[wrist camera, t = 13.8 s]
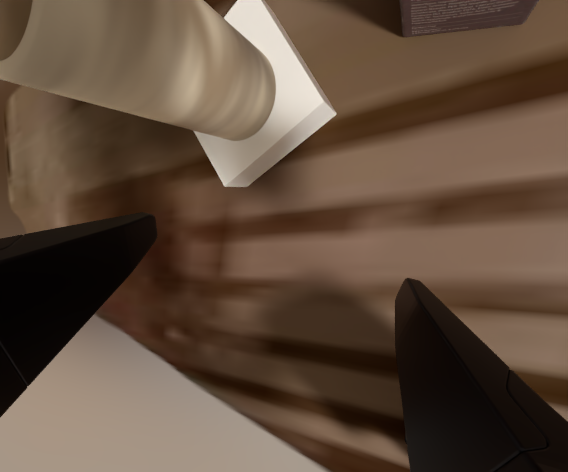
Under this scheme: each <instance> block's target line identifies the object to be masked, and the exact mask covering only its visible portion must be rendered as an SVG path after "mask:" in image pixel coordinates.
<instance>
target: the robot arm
mask: <svg viewBox="0 0 568 472" xmlns="http://www.w3.org/2000/svg"><path fill="white" fill-rule="evenodd" d="M156 238H157V228H156V220H155V217H154V216H153V215H152V214H148V213H144V212H141V213H136V214H130V215H125V216H120V217H114V218H109V219H103V220H98V221H93V222H87V223H82V224H77V225H71V226H66V227H61V228H55V229H50V230H44V231H39V232H34V233H28V234H25V235H17V236H12V237H7V238H1V239H0V417H1V416H2V415H3V414H4V413H5V412H6V411H7V409H8V408H9V407H10V406H11V405H12V404H13V403H14V402H15V401H16V399H17V398H18V397H19V396H20V395H21V394H22V393H23V392H24V391H25V390H26V388H27V386H29V385H30V384H31V383H32V382H33V381H34V380H35V378H36V377H37V376H38V375H39V374H40V373H41V372H42V371H43V370H44V368H45V367H46V366H47V365H48V364H49V363H50V362H51V361H52V360H53V359H54V357H55V356H56V355H57V354H58V353H59V352H60V351H61V350H62V349H63V347H65V345H66V344H67V343H68V342H69V341H70V340H71V339H72V338H73V337H74V336H75V334H76V333H77V332H78V331H79V330H80V329H81V328H82V327H83V326H84V324H85V323H86V322H87V321H88V320H89V319H90V318H91V317H92V316H93V315H94V314H95V312H96V311H97V310H98V309H99V308H100V307H101V306H102V305H103V304H104V303H105V301H106V300H107V299H108V298H109V297H110V296H111V295H112V294H113V293H114V292H115V291H116V289H117V288H118V287H119V286H120V285H121V284H122V283H123V282H124V281H125V280H126V278H127V277H128V276H129V275H130V274H131V273H132V272H133V270H134V269H135V268H136V266H137V265H138V264H139V262H140V261H141V260H142V258H143V257H144V256H145V254H146V253H147V252H148V250H149V249H150V247H151V246H152V245H153V243H154V242H155V241H156ZM395 349H396V358H397V366H398V374H399V382H400V390H401V399H402V407H403V415H404V423H405V431H406V434H405V442H406V444H407V448H408V456H409V464H410V472H568V422H567V421H566V420H565V419H564V418H563V417H562V416H561V415H560V414H558V413H557V412H556V411H555V410H554V409H553V408H552V407H551V406H549V405H548V404H547V403H546V402H545V401H544V400H543V399H542V398H541V397H540V396H539V395H538V394H537V393H535V392H534V391H533V390H532V389H531V388H530V387H529V386H528V385H527V384H526V383H525V382H524V381H523V380H522V379H521V378H520V377H519V376H518V375H517V374H516V373H515V372H514V371H512V370H509V367H508V366H507V365H506V364H505V363H504V362H503V361H502V360H501V359H500V358H499V357H498V356H497V355H496V354H495V353H494V352H493V351H492V350H491V349H490V348H489V347H488V346H487V345H486V344H485V343H483V342H482V341H481V340H480V339H479V338H478V337H477V336H476V335H475V334H474V333H473V332H472V331H471V330H470V329H469V328H468V327H467V326H466V325H465V324H464V323H463V322H462V321H461V320H460V319H459V318H458V317H457V316H456V315H455V314H454V313H452V312H451V311H450V310H449V309H448V308H447V307H446V306H445V305H444V304H443V303H442V302H441V301H440V300H439V299H438V298H437V297H436V296H435V295H434V294H433V293H432V292H431V291H430V290H429V289H428V288H427V287H426V286H425V285H424V284H423V283H421V282H420V281H418V280H415V279H410V278H406V279H405V280H404V282H403V284H402V286H401V288H400V290H399V292H398V294H397V296H396V300H395Z"/></svg>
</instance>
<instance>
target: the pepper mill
mask: <svg viewBox="0 0 568 472" xmlns="http://www.w3.org/2000/svg"><path fill="white" fill-rule="evenodd" d="M0 79H1V80H5V81H9V82H12V83H16V84H20V85H24V86H27V87H31V88H35V89H39V90H42V91H46V92H50V93H54V94H58V95H61V96H65V97H69V98H73V99H76V100H80V101H84V102H88V103H91V104H95V105H99V106H103V107H107V108H110V109H114V110H118V111H122V112H125V113H129V114H133V115H137V116H140V117H144V118H148V119H152V120H156V121H159V122H163V123H167V124H171V125H174V126H178V127H182V128H186V129H189V130H193V131H197V132H201V133H205V134H208V135H212V136H216V137H220V138H223V139H227V140H231V141H240V140H244V139H247V138H249V137H251V136H253V135H254V134H255V133H257V132H258V131H259V130H260V129H261V128H262V127H263V125H264V124H265V123H266V121H267V119H268V118H269V116H270V114H271V111H272V108H273V105H274V101H275V95H276V81H275V75H274V71H273V68H272V66H271V64H270V62H269V60H268V59H267V57H266V56H265V55H264V54H263V53H262V52H261V51H260V50H259V49H258V48H257V47H255V46H254V45H253V44H252V43H251V42H250V41H249V40H247V39H246V38H245V37H244V36H243V35H242V34H241V33H240V32H238V31H237V30H236V29H235V28H234V27H233V26H232V25H231V24H229V23H228V22H227V21H226V20H225V19H224V18H223V17H222V16H220V15H219V14H218V13H217V12H216V11H215V10H214V9H212V8H211V7H210V6H209V5H208V4H207V3H206V2H205V1H203V0H0Z"/></svg>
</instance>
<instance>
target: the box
mask: <svg viewBox="0 0 568 472" xmlns="http://www.w3.org/2000/svg"><path fill="white" fill-rule="evenodd" d="M538 1H539V0H399V2H400V12H401V24H402V35H403V36H404V37H410V36H419V35H428V34H437V33H446V32H455V31H464V30H473V29H482V28H491V27H501V26H509V25H519V24H523V23H525V21H526V20H527V18H528V16H529V15H530V13H531V11H532V10H533V8H534V7H535V6H536V4H537V2H538Z"/></svg>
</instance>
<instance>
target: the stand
mask: <svg viewBox="0 0 568 472" xmlns="http://www.w3.org/2000/svg"><path fill="white" fill-rule="evenodd" d="M224 19H225V20H226V21H227V22H228V23H229V24H231V25H232V26H233V27H234V28H235V29H236V30H237V31H238V32H240V33H241V34H242V35H243V36H244V37H245V38H246V39H247V40H249V41H250V42H251V43H252V44H253V45H254V46H255V47H257V48H258V49H259V50H260V51H261V52H262V53H263V54H264V55H265V56H266V57H267V59H268V60H269V62H270V64H271V66H272V68H273V71H274V75H275V81H276V95H275V101H274V105H273V108H272V111H271V114H270V116H269V118H268V119H267V121H266V123H265V124H264V125H263V127H262V128H261V129H260V130H259V131H258V132H257V133H255V134H254V135H253V136H251V137H249V138H247V139H244V140H240V141H231V140H227V139H223V138H220V137H216V136H212V135H208V134H205V133H201V132H197V131H194V133H195V135H196V137H197V138H198V140H199V142H200V144H201V145H202V147H203V149H204V151H205V153H206V154H207V156H208V158H209V160H210V161H211V163H212V165H213V167H214V169H215V170H216V172H217V174H218V176H219V177H220V179H221V181H222V183H223V185H224V186H225V187H248V186H249V185H250V184H251V183H252V182H254V181H255V180H256V179H257V178H259V177H260V176H261V175H262V174H264V173H265V172H266V171H267V170H269V169H270V168H271V167H272V166H273V165H275V164H276V163H277V162H278V161H280V160H281V159H282V158H283V157H285V156H286V155H287V154H288V153H290V152H291V151H292V150H293V149H294V148H296V147H297V146H298V145H299V144H301V143H302V142H303V141H304V140H306V139H307V138H308V137H309V136H311V135H312V134H313V133H314V132H315V131H317V130H318V129H319V128H320V127H322V126H323V125H324V124H325V123H327V122H328V121H329V120H330V119H331V118H333V117H334V116H335V115H336V114H337V113H336V112H335V110H334V108H333V107H332V105H331V104H330V102H329V100H328V99H327V97H326V96H325V94H324V92H323V91H322V89H321V88H320V86H319V84H318V83H317V81H316V80H315V78H314V76H313V75H312V73H311V72H310V70H309V68H308V67H307V65H306V64H305V62H304V60H303V59H302V57H301V56H300V54H299V52H298V51H297V49H296V48H295V46H294V44H293V43H292V41H291V40H290V38H289V36H288V35H287V33H286V32H285V30H284V28H283V27H282V25H281V24H280V22H279V20H278V19H277V17H276V16H275V14H274V12H273V11H272V10H271V8H270V7H269V6H268V5H267V3H266V2H265V1H264V0H237V2H236V3H235V4H234V5H233V7H232V8H231V9H230V11H229V12H228V13H227V14H226V16H225V17H224Z"/></svg>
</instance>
